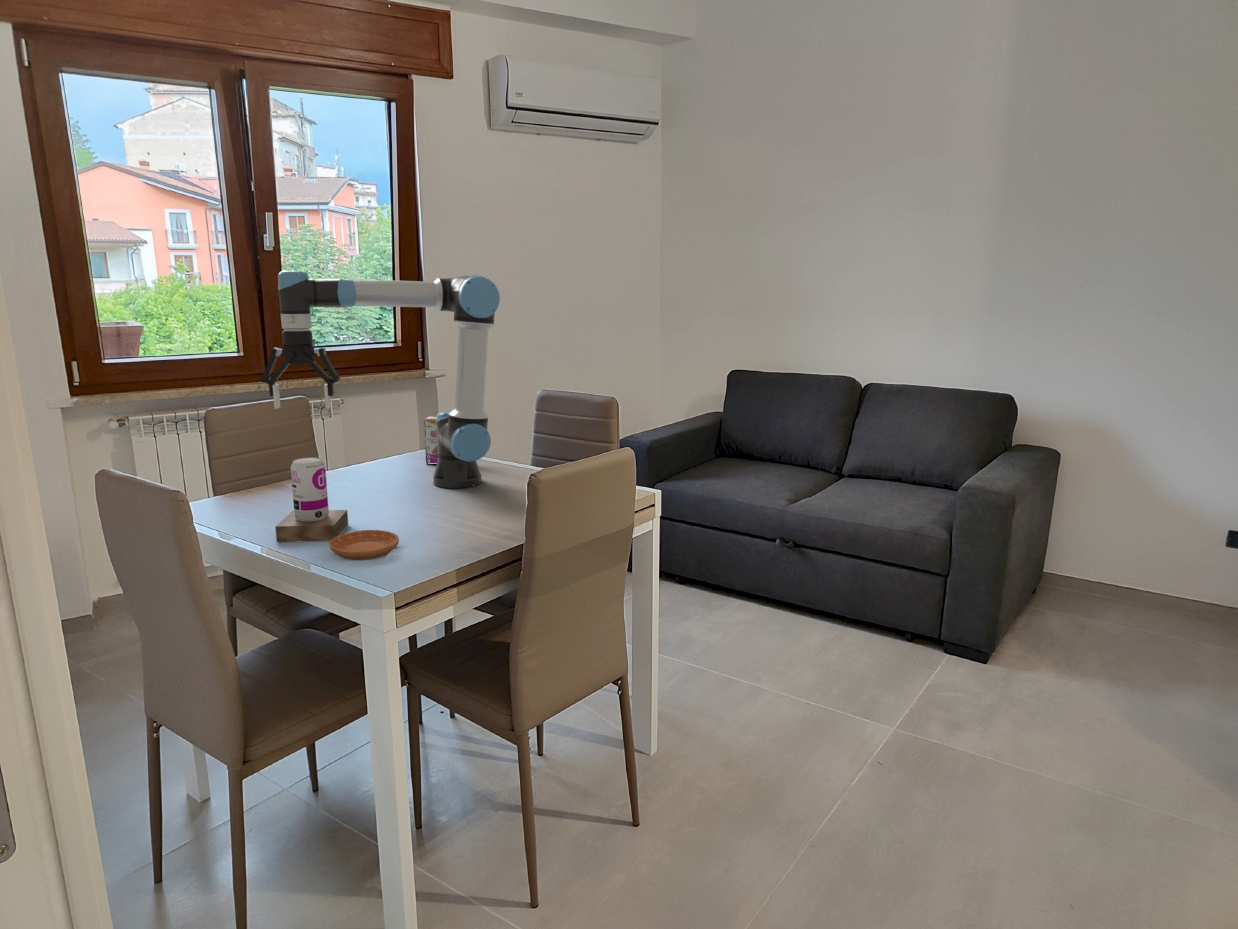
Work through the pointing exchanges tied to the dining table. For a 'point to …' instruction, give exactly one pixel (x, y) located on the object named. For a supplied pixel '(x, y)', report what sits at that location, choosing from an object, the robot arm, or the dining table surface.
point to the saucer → (364, 544)
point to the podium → (312, 527)
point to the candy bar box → (431, 440)
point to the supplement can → (309, 489)
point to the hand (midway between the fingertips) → (303, 408)
